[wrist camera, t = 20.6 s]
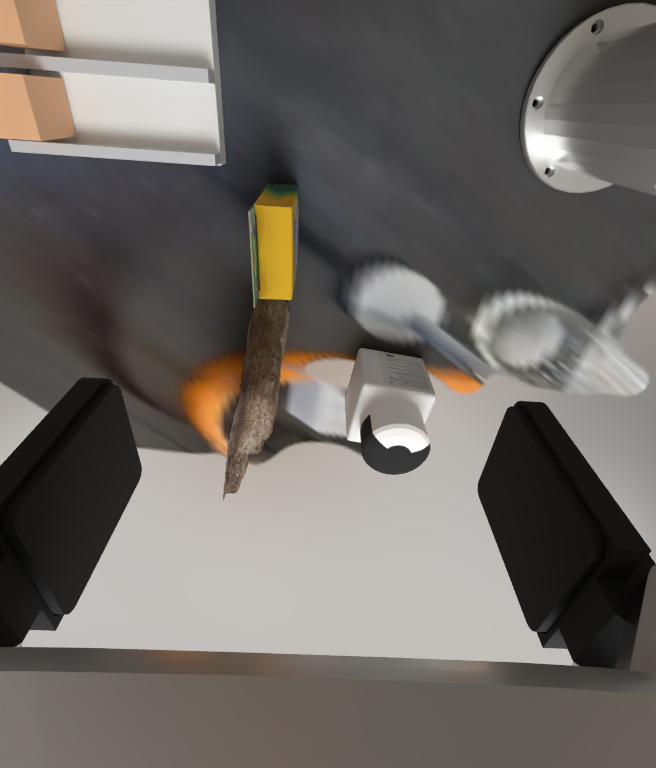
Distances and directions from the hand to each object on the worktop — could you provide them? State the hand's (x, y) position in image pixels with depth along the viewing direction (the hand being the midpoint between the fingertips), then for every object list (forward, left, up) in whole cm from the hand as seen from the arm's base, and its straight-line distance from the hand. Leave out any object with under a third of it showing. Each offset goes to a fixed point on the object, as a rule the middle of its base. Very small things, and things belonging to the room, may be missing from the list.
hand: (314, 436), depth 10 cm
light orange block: (+22, -5, -31) cm, 38 cm away
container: (-8, +20, -34) cm, 40 cm away
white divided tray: (+17, -10, -33) cm, 39 cm away
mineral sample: (+6, +18, -34) cm, 39 cm away
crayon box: (+4, +3, -34) cm, 34 cm away
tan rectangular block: (+21, -11, -31) cm, 39 cm away
